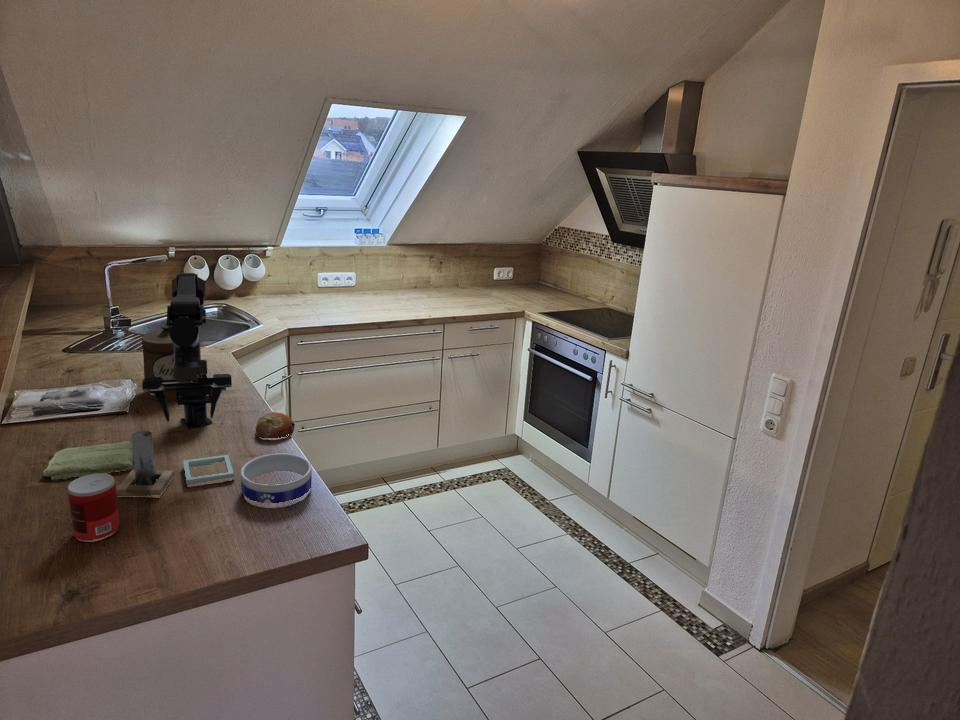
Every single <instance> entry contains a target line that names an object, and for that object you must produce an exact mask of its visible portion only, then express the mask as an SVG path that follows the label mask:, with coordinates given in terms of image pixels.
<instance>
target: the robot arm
mask: <svg viewBox="0 0 960 720" xmlns="http://www.w3.org/2000/svg"><path fill="white" fill-rule="evenodd" d="M170 286H171V299H170V305H167V306H166V307H167V308H166V323H167V327H172V328H171V330H170V338H171V340H172V342H173V344H174V368H173V375H174V379H175V380H163V378H162V377H150V378H144V377H143V379H142V381H141V384H142V385H141V386H142V390H143V391H144V392H145V393H146V392H149V394H151V395H155V396H156V397H157V399H158V400H157V401H158V403H159V405H160V407H161V410H162V412H163V414H164V418H165V419H166V421H167V422H170V412H169V405H168V401H167V398H166V393H165V392H164V391H163V389H164V388H172V387H176V393H177V401H176V402H177V406H183V414H184V418H180V419H179V421H180V422H181V423H182V424H183V425H184V426H185V427H186V428H188V429H193V428H197V427H202V426H206V425H210V424H213V421H212V420H211V419H213V418H214V414H215V410H216V407H217V405H218V404H217V403H218V401H219V399H220V396H221V394H222V392H227V388H232V386H233V384H232V375H231V374H230V373H217V374H216V373H215V374H213V376H212V377H208V361H207V359H202V357H201V353H202V352H201V333H200V327H204V324H207V311H206V309H205V299H207V284H206V280H204V279H203V278H200V277H199V276H198V273H195V272H179V273H176V277H175V278H173V279H172V280H171V285H170ZM207 404H210V412H209V413H210V414H209V415H210V418H209V417H208V409H207V408H208V407H207Z"/></svg>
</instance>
